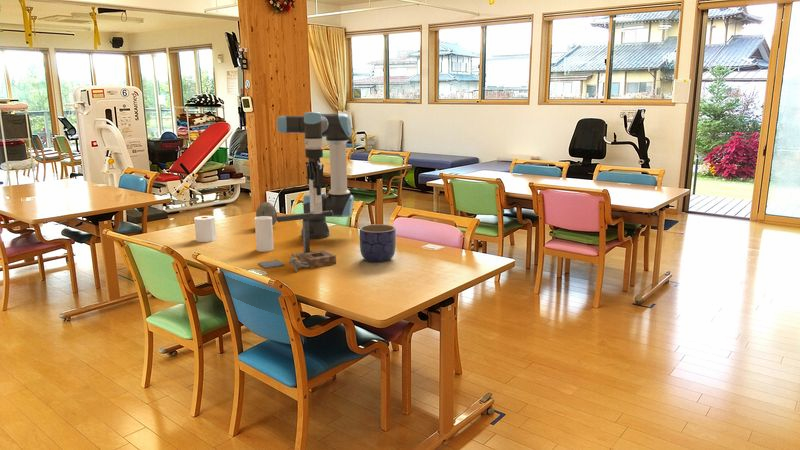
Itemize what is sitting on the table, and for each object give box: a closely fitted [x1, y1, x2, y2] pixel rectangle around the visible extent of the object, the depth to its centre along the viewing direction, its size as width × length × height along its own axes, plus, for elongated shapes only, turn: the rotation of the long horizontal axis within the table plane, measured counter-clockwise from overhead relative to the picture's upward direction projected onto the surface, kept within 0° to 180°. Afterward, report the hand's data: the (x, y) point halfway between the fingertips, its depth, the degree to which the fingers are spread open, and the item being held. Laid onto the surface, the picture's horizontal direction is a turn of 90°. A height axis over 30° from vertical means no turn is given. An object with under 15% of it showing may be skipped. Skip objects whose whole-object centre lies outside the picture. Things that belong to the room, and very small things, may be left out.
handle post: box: [295, 220, 313, 259], centre depth 263 cm, size 8×8×17 cm
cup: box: [254, 216, 275, 253], centre depth 276 cm, size 8×8×16 cm
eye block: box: [299, 249, 337, 269], centre depth 255 cm, size 12×12×4 cm
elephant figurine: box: [288, 253, 309, 273], centre depth 245 cm, size 10×6×9 cm
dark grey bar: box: [276, 210, 333, 223], centre depth 261 cm, size 3×28×4 cm, turn 121°
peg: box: [308, 179, 323, 214], centre depth 249 cm, size 4×4×15 cm
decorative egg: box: [255, 201, 278, 227], centre depth 323 cm, size 12×12×15 cm
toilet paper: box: [193, 215, 217, 243], centre depth 296 cm, size 10×10×12 cm
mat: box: [257, 259, 286, 270], centre depth 252 cm, size 9×9×1 cm
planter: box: [358, 223, 397, 263], centre depth 258 cm, size 16×16×15 cm
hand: (315, 201), depth 249 cm, fingers closed on peg, 4 cm apart
